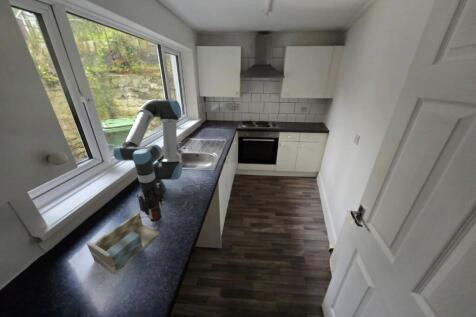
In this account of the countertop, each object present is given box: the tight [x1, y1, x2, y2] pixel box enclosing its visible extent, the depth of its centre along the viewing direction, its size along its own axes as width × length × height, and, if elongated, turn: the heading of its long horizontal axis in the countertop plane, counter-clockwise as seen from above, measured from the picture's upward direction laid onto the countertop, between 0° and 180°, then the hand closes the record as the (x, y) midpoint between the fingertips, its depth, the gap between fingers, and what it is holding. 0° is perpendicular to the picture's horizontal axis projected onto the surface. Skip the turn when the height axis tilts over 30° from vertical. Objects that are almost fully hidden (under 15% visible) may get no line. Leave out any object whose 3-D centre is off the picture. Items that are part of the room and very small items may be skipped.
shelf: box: [86, 211, 161, 275], centre depth 84 cm, size 24×14×11 cm, turn 155°
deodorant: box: [149, 194, 162, 223], centre depth 97 cm, size 6×6×15 cm
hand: (155, 214), depth 99 cm, fingers closed on deodorant, 6 cm apart
